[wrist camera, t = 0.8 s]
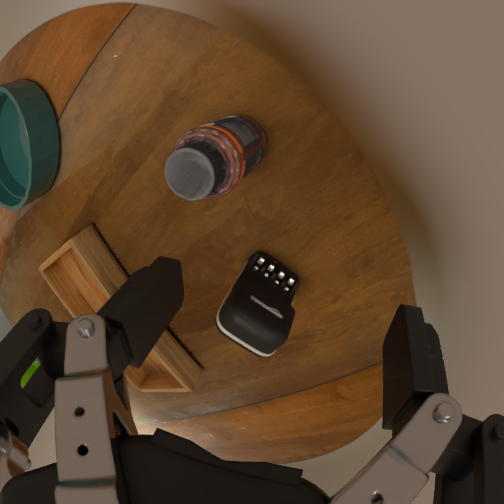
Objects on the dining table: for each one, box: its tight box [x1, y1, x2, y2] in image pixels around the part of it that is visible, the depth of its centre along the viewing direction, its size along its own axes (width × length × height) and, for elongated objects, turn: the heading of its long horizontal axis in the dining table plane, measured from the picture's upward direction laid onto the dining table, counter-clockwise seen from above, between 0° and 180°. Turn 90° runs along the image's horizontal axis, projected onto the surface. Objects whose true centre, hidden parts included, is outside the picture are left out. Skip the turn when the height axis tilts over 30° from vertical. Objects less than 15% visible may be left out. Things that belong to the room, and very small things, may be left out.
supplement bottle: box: [165, 115, 266, 201], centre depth 25 cm, size 6×6×11 cm
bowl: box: [0, 79, 59, 211], centre depth 35 cm, size 20×20×6 cm
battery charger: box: [216, 252, 299, 357], centre depth 32 cm, size 7×4×11 cm, turn 58°
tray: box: [38, 224, 202, 392], centre depth 48 cm, size 31×15×6 cm, turn 30°
